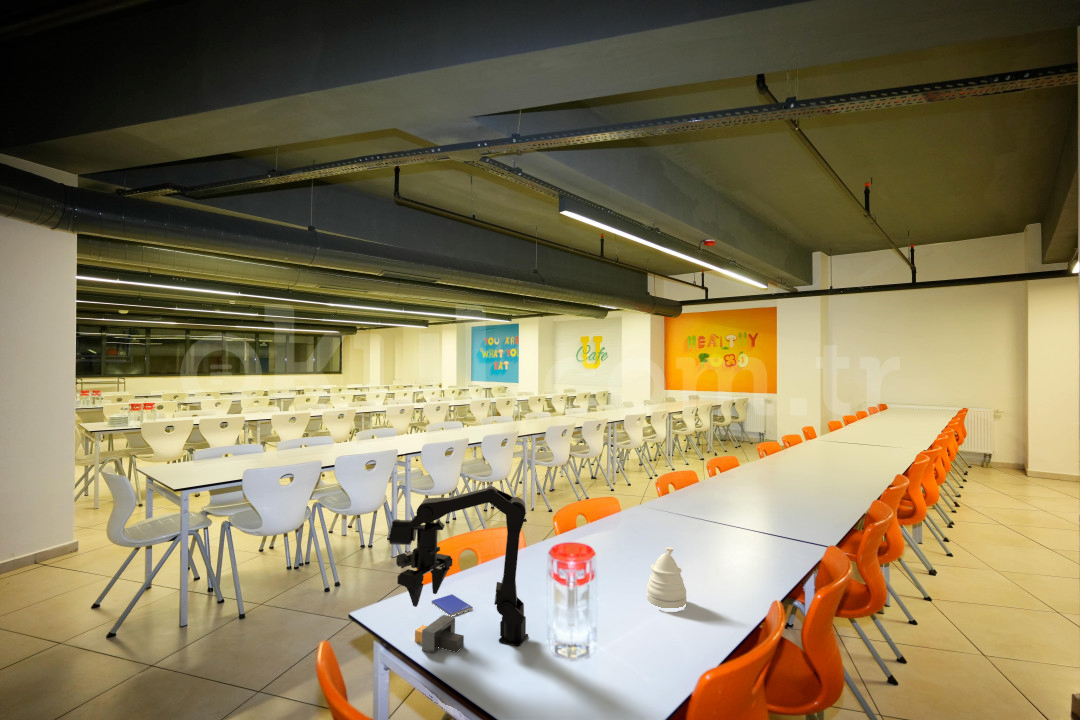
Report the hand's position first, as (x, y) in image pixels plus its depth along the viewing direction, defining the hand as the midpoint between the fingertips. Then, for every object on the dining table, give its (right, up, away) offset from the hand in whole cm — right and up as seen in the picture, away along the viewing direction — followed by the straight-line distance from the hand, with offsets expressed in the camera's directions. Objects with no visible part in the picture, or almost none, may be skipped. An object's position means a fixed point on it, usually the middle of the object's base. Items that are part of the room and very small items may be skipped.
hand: (425, 599), depth 142 cm
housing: (+4, -11, -2) cm, 12 cm away
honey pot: (+75, -13, +24) cm, 80 cm away
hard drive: (+4, -13, +21) cm, 25 cm away
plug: (+4, -11, -2) cm, 12 cm away
